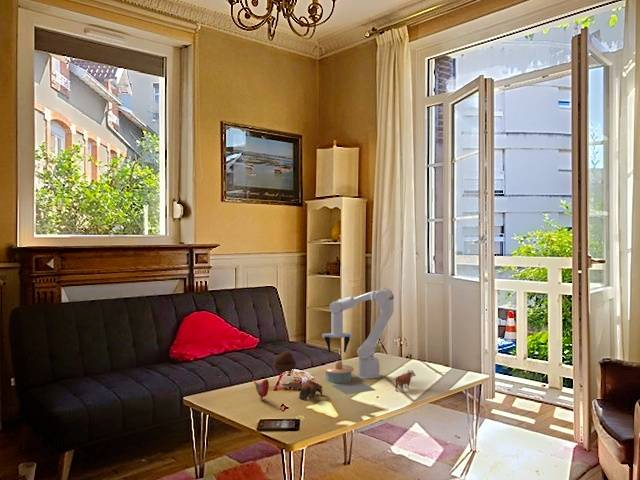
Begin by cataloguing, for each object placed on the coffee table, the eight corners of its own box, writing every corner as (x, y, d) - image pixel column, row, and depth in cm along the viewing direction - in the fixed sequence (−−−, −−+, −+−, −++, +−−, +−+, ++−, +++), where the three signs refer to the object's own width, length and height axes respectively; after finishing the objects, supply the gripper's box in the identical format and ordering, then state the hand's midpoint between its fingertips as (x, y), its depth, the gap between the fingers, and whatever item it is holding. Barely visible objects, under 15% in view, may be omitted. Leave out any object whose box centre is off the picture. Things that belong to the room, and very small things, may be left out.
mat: (360, 382, 258) (360, 381, 258) (376, 390, 245) (376, 390, 245) (331, 386, 252) (331, 385, 252) (346, 395, 238) (346, 394, 238)
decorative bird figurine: (265, 405, 224) (265, 381, 224) (249, 394, 240) (249, 371, 239) (271, 404, 225) (271, 380, 225) (256, 393, 241) (256, 370, 241)
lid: (345, 366, 271) (345, 357, 271) (358, 373, 258) (358, 363, 258) (319, 369, 265) (319, 360, 265) (331, 377, 252) (331, 366, 252)
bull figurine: (417, 387, 250) (417, 369, 250) (400, 394, 240) (400, 375, 240) (409, 385, 253) (409, 367, 253) (391, 392, 243) (391, 373, 243)
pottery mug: (295, 396, 238) (302, 378, 240) (314, 405, 239) (322, 387, 242) (301, 397, 226) (309, 378, 229) (321, 407, 228) (329, 387, 230)
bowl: (344, 375, 270) (344, 365, 270) (355, 381, 259) (355, 371, 259) (321, 378, 265) (321, 368, 265) (332, 384, 254) (332, 374, 254)
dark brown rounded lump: (297, 380, 262) (297, 348, 262) (294, 386, 251) (294, 353, 251) (275, 379, 263) (275, 348, 263) (271, 386, 252) (271, 353, 252)
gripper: (323, 326, 270) (323, 354, 270) (352, 326, 271) (352, 353, 271) (322, 324, 277) (322, 351, 277) (350, 323, 278) (350, 350, 278)
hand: (337, 352), depth 275 cm, fingers open, 7 cm apart
